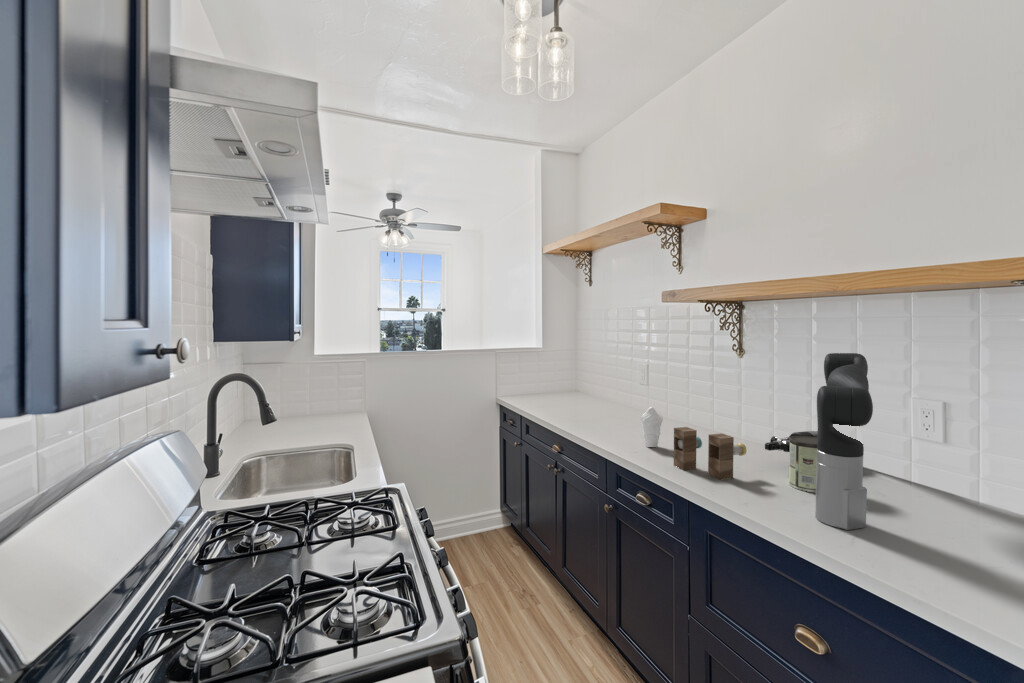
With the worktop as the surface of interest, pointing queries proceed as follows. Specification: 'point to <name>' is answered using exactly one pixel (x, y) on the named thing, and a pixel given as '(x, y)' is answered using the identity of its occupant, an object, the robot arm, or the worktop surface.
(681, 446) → the teal button
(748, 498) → the worktop surface
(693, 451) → the walnut box
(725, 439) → the walnut box
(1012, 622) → the worktop surface
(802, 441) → the coffee can
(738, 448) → the ochre button
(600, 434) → the worktop surface
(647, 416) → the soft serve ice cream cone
